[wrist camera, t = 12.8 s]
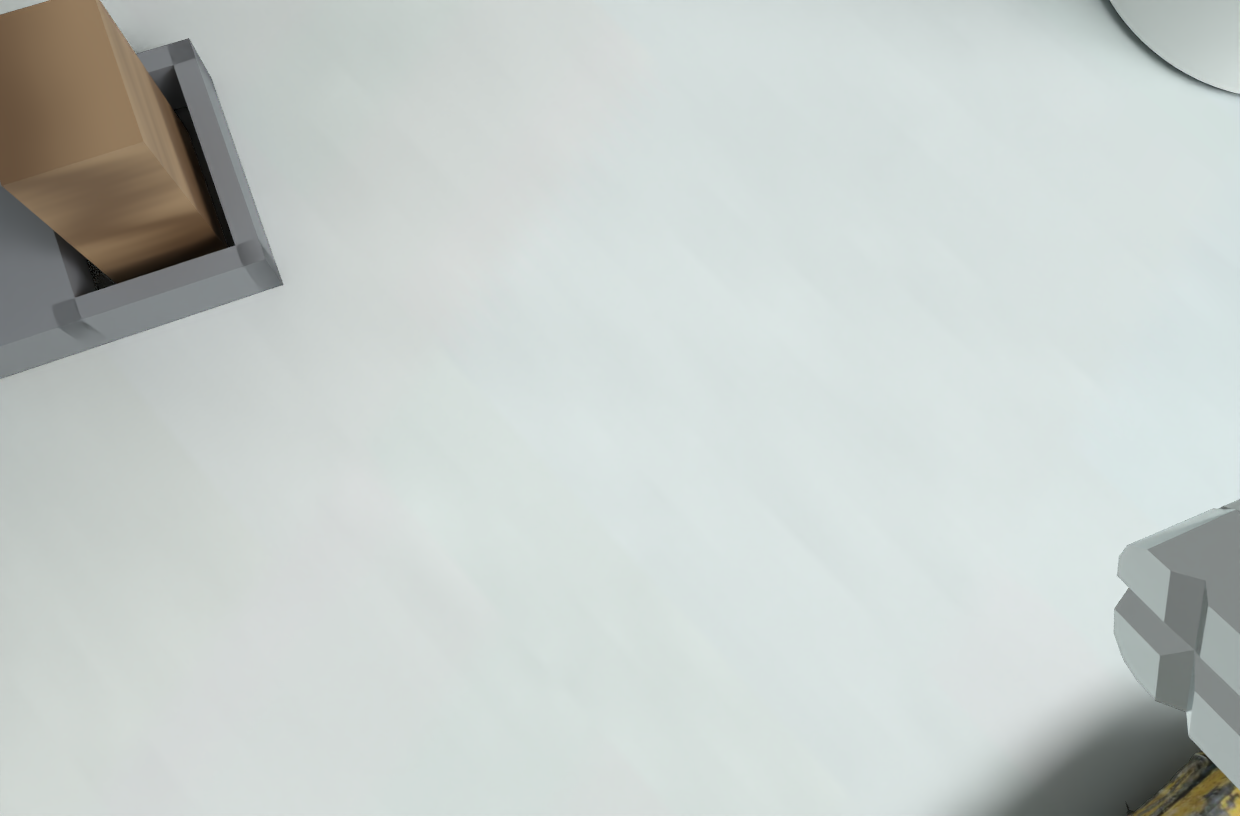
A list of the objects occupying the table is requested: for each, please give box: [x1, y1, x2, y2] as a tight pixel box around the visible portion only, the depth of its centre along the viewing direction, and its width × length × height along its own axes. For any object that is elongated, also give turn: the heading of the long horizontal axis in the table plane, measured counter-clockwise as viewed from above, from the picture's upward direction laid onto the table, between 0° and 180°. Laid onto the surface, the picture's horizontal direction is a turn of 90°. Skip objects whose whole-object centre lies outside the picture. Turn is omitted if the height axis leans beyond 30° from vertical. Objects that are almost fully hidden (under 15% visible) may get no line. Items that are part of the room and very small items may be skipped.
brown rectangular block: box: [0, 0, 228, 284], centre depth 38 cm, size 4×6×10 cm
